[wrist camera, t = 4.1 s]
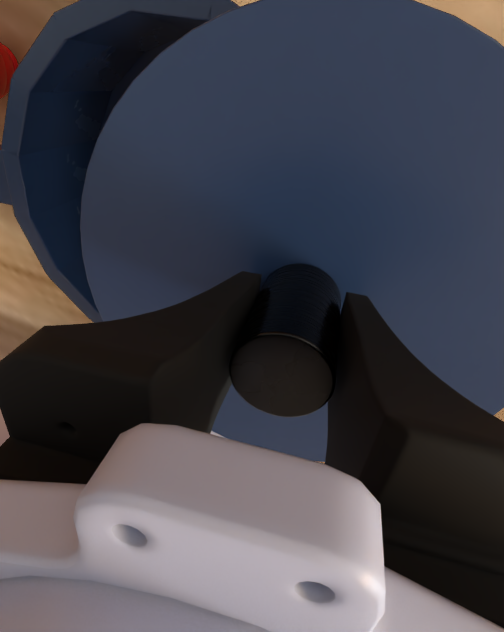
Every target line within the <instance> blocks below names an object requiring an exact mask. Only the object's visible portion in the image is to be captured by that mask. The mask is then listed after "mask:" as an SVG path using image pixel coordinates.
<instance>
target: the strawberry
mask: <svg viewBox="0 0 504 632" xmlns="http://www.w3.org/2000/svg"><path fill="white" fill-rule="evenodd" d="M17 67H18V63H17V60H16V58H15V56H14V55H13V53H12V52H11V51H10V50H9V49H8V48H7V47H6V46H5V45H3V44H1V43H0V99H1V98H3V97H4V96H5V95H6V94H7V93H8V92H9V89H10V82H11V78H12V75H13V73H14V72H15V70H16V69H17Z"/></svg>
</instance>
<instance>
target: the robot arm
mask: <svg viewBox="0 0 504 632" xmlns="http://www.w3.org/2000/svg"><path fill="white" fill-rule="evenodd" d="M261 277H262V275H261V274H256V273H251V272H246V271H242V272H240V273H238V274H236V275H234V276H232V277H231V278H229V279H227V280H225V281H224V282H222V283H220V284H218V285H216V286H215V287H213V288H211V289H209V290H207V291H205V292H203V293H201V294H199V295H196V296H194V297H192V298H190V299H188V300H186V301H183V302H181V303H178V304H175V305H173V306H170V307H167V308H164V309H160V310H157V311H153V312H149V313H145V314H141V315H137V316H133V317H128V318H123V319H117V320H111V321H104V322H96V323H87V324H73V325H56V326H44V327H43V328H41V329H40V330H39V331H37V332H36V333H35V334H34V335H32V336H31V337H30V338H29V339H27V340H26V341H25V342H24V343H22V344H21V345H20V346H19V347H17V348H16V349H15V350H14V351H12V352H11V353H10V354H9V355H7V356H6V357H5V358H3V359H2V360H1V362H0V409H1V412H2V415H3V418H4V420H5V424H6V426H7V429H8V432H9V435H10V437H9V438H8V439H7V440H6V441H5V442H4V443H3V444H2V445H1V446H0V632H504V422H503V421H502V420H500V419H498V418H496V417H495V416H493V415H492V414H490V413H488V412H487V411H485V410H484V409H482V408H480V407H479V406H477V405H476V404H474V403H473V402H471V401H470V400H468V399H467V398H465V397H464V396H462V395H461V394H460V393H458V392H457V391H456V390H454V389H453V388H452V387H450V386H449V385H448V384H446V383H445V382H444V381H442V380H441V379H440V378H439V377H437V376H436V375H435V374H434V373H433V372H431V371H430V370H429V369H428V368H427V367H426V366H425V365H424V364H423V363H422V362H420V361H419V360H418V359H417V358H416V357H415V356H414V355H413V354H412V353H411V352H410V351H409V350H408V348H407V347H406V346H405V345H404V344H403V343H402V342H401V341H400V340H399V338H398V337H397V336H396V335H395V334H394V332H393V331H392V330H391V329H390V327H389V326H388V325H387V323H386V322H385V321H384V319H383V318H382V316H381V315H380V314H379V312H378V311H377V309H376V308H375V306H374V305H373V303H372V302H371V300H370V299H369V298H368V296H365V295H360V294H355V293H350V292H346V296H345V299H344V303H343V307H342V310H341V314H340V327H339V342H338V358H337V373H336V385H335V390H334V392H333V395H332V396H331V398H330V399H329V401H328V435H327V450H326V458H325V464H323V463H319V462H315V461H312V460H308V459H304V458H300V457H296V456H292V455H289V454H285V453H281V452H277V451H273V450H270V449H266V448H262V447H258V446H254V445H250V444H247V443H243V442H239V441H235V440H231V439H227V438H225V437H223V436H221V435H219V434H217V433H215V432H213V431H211V430H212V427H213V425H214V422H215V419H216V416H217V414H218V412H219V409H220V407H221V405H222V403H223V401H224V399H225V397H226V395H227V393H228V391H229V388H230V386H231V384H232V382H231V378H230V374H229V362H230V358H231V355H232V353H233V350H234V348H235V346H236V344H237V341H238V339H239V337H240V335H241V333H242V330H243V328H244V326H245V324H246V321H247V319H248V317H249V315H250V312H251V310H252V308H253V306H254V304H255V301H256V299H257V297H258V295H259V292H260V284H261Z"/></svg>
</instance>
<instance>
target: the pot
mask: <svg viewBox="0 0 504 632" xmlns="http://www.w3.org/2000/svg"><path fill="white" fill-rule="evenodd" d="M238 7H240V6H238V5H237V4H236V3H234V2H233V1H231V0H79V1H77V2H75V3H73V4H71V5H69V6H67V7H65V8H62V9H60V10H58V11H56V12H54V13H53V15H52V16H51V18H50V19H49V21H48V22H47V24H46V25H45V27H44V28H43V30H42V31H41V33H40V34H39V36H38V37H37V39H36V40H35V42H34V43H33V45H32V46H31V48H30V49H29V51H28V52H27V54H26V55H25V57H24V58H23V60H22V61H21V63H20V64H19V66H18V67H17V69H16V70H15V72H14V73H13V75H12V78H11V82H10V89H9V96H8V103H7V110H6V117H5V124H4V131H3V138H2V145H1V144H0V203H4V204H9V205H13V210H14V215H15V217H16V219H17V221H18V223H19V225H20V227H21V229H22V230H23V232H24V234H25V236H26V238H27V239H28V241H29V243H30V245H31V247H32V249H33V250H34V252H35V254H36V256H37V258H38V260H39V261H40V263H41V265H42V267H43V269H44V271H45V272H46V274H47V275H48V277H49V278H50V279H51V280H52V281H53V282H54V283H55V284H56V285H57V286H58V287H59V288H60V289H61V290H62V291H63V292H64V293H65V294H66V295H67V296H68V297H69V299H70V300H71V301H72V302H73V303H74V304H75V305H76V306H77V307H78V308H79V309H80V310H81V311H82V312H83V313H84V314H85V315H86V316H87V317H88V318H89V319H90V320H91V321H93V322H94V323H96V322H103V320H102V318H101V315H100V313H99V311H98V309H97V307H96V305H95V301H94V298H93V295H92V292H91V289H90V286H89V283H88V280H87V275H86V270H85V265H84V261H83V256H82V245H81V232H80V220H81V201H82V194H83V188H84V183H85V178H86V173H87V168H88V165H89V162H90V159H91V156H92V153H93V150H94V147H95V145H96V142H97V139H98V137H99V135H100V133H101V131H102V129H103V127H104V125H105V123H106V121H107V119H108V117H109V115H110V113H111V111H112V109H113V108H114V106H115V105H116V104H117V102H118V101H119V100H120V98H121V97H122V95H123V94H124V93H125V91H126V90H127V88H128V87H129V86H130V84H131V83H132V81H133V80H134V79H135V78H136V77H137V76H138V75H139V74H140V73H141V72H142V71H143V70H144V69H145V68H146V67H147V66H148V65H149V64H150V63H151V62H152V61H153V60H154V59H155V58H156V57H157V56H158V55H159V54H160V53H161V52H162V51H164V50H165V49H166V48H168V47H169V46H170V45H172V44H173V43H174V42H176V41H177V40H179V39H180V38H181V37H183V36H184V35H185V34H187V33H188V32H189V31H191V30H192V29H194V28H196V27H198V26H200V25H202V24H204V23H206V22H208V21H210V20H211V19H213V18H215V17H217V16H219V15H221V14H223V13H225V12H227V11H229V10H232V9H235V8H238Z"/></svg>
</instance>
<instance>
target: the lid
mask: <svg viewBox="0 0 504 632" xmlns="http://www.w3.org/2000/svg"><path fill="white" fill-rule="evenodd" d="M80 232H81V245H82V256H83V261H84V265H85V270H86V275H87V280H88V283H89V286H90V289H91V292H92V295H93V298H94V301H95V305H96V307H97V309H98V311H99V313H100V315H101V318H102V320H103V322H104V321H111V320H117V319H123V318H128V317H133V316H137V315H141V314H145V313H149V312H153V311H157V310H160V309H164V308H167V307H170V306H173V305H175V304H178V303H181V302H183V301H186V300H188V299H190V298H192V297H194V296H196V295H199V294H201V293H203V292H205V291H207V290H209V289H211V288H213V287H215V286H216V285H218V284H220V283H222V282H224V281H225V280H227V279H229V278H231V277H232V276H234V275H236V274H238V273H240V272H242V271H246V272H251V273H256V274H261V275H262V277H261V284H260V292H259V295H258V297H257V299H256V301H255V304H254V306H253V308H252V310H251V312H250V315H249V317H248V319H247V321H246V324H245V326H244V328H243V330H242V333H241V335H240V337H239V339H238V341H237V344H236V346H235V348H234V350H233V353H232V355H231V358H230V362H229V374H230V378H231V382H232V384H231V386H230V388H229V391H228V393H227V395H226V397H225V399H224V401H223V403H222V405H221V407H220V409H219V412H218V414H217V416H216V419H215V422H214V425H213V427H212V430H211V431H213V432H215V433H217V434H219V435H221V436H223V437H225V438H227V439H231V440H235V441H239V442H243V443H247V444H250V445H254V446H258V447H262V448H266V449H270V450H273V451H277V452H281V453H285V454H289V455H292V456H296V457H300V458H304V459H308V460H312V461H321V462H325V458H326V450H327V435H328V401H329V399H330V398H331V396H332V395H333V392H334V390H335V385H336V373H337V358H338V342H339V327H340V314H341V310H342V307H343V303H344V299H345V296H346V292H350V293H355V294H360V295H365V296H368V298H369V299H370V300H371V302H372V303H373V305H374V306H375V308H376V309H377V311H378V312H379V314H380V315H381V316H382V318H383V319H384V321H385V322H386V323H387V325H388V326H389V327H390V329H391V330H392V331H393V332H394V334H395V335H396V336H397V337H398V338H399V340H400V341H401V342H402V343H403V344H404V345H405V346H406V347H407V348H408V350H409V351H410V352H411V353H412V354H413V355H414V356H415V357H416V358H417V359H418V360H419V361H420V362H422V363H423V364H424V365H425V366H426V367H427V368H428V369H429V370H430V371H431V372H433V373H434V374H435V375H436V376H437V377H439V378H440V379H441V380H442V381H444V382H445V383H446V384H448V385H449V386H450V387H452V388H453V389H454V390H456V391H457V392H458V393H460V394H461V395H462V396H464V397H465V398H467V399H468V400H470V401H471V402H473V403H474V404H476V405H477V406H479V407H480V408H482V409H484V410H485V411H487V412H488V413H490V414H492V415H495V414H496V413H497V412H499V411H500V410H501V409H502V408H504V47H503V46H502V45H501V44H500V43H499V42H497V41H496V40H495V39H493V38H492V37H490V36H488V35H487V34H485V33H483V32H481V31H480V30H478V29H476V28H475V27H473V26H471V25H470V24H468V23H466V22H465V21H463V20H461V19H459V18H458V17H456V16H454V15H451V14H449V13H446V12H443V11H441V10H438V9H435V8H433V7H430V6H427V5H424V4H422V3H419V2H416V1H414V0H259V1H256V2H253V3H250V4H247V5H244V6H241V7H238V8H235V9H232V10H229V11H227V12H225V13H223V14H221V15H219V16H217V17H215V18H213V19H211V20H210V21H208V22H206V23H204V24H202V25H200V26H198V27H196V28H194V29H192V30H191V31H189V32H188V33H187V34H185V35H184V36H183V37H181V38H180V39H179V40H177V41H176V42H174V43H173V44H172V45H170V46H169V47H168V48H166V49H165V50H164V51H162V52H161V53H160V54H159V55H158V56H157V57H156V58H155V59H154V60H153V61H152V62H151V63H150V64H149V65H148V66H147V67H146V68H145V69H144V70H143V71H142V72H141V73H140V74H139V75H138V76H137V77H136V78H135V79H134V80H133V81H132V83H131V84H130V86H129V87H128V88H127V90H126V91H125V93H124V94H123V95H122V97H121V98H120V100H119V101H118V102H117V104H116V105H115V106H114V108H113V109H112V111H111V113H110V115H109V117H108V119H107V121H106V123H105V125H104V127H103V129H102V131H101V133H100V135H99V137H98V139H97V142H96V145H95V147H94V150H93V153H92V156H91V159H90V162H89V165H88V168H87V173H86V178H85V183H84V188H83V194H82V201H81V220H80Z"/></svg>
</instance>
